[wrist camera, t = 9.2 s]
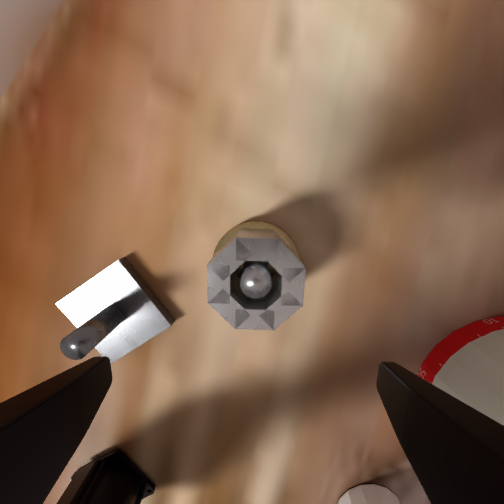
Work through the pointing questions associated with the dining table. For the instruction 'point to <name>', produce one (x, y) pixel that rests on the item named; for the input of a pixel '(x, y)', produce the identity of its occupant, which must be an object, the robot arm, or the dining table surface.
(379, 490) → the white cup
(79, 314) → the stand
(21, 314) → the dining table surface
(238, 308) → the collar
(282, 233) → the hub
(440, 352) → the chicken hat
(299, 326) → the dining table surface
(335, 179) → the dining table surface
